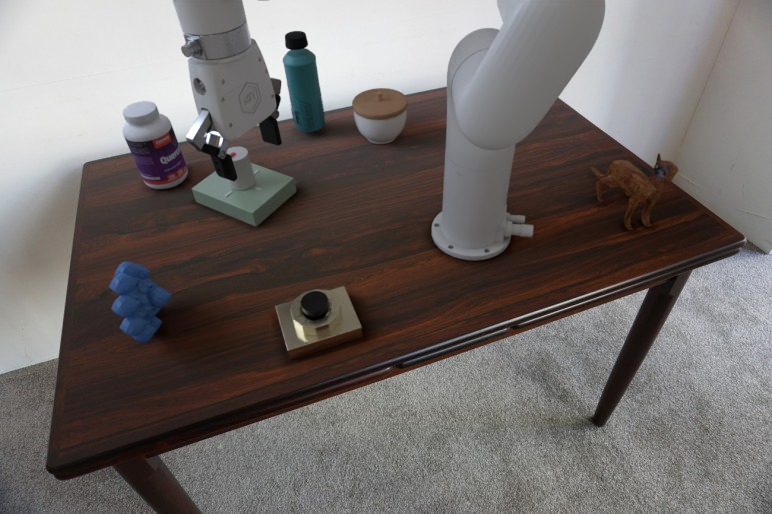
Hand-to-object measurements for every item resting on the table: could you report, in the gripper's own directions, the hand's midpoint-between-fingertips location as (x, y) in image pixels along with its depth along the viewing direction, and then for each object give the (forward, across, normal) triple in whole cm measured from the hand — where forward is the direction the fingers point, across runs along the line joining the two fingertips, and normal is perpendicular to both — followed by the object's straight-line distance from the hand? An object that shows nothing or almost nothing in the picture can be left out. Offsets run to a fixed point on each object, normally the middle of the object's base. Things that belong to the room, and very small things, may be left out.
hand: (251, 159), depth 74 cm
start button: (+12, -11, -17) cm, 24 cm away
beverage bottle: (+15, +30, +14) cm, 36 cm away
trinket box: (+16, +35, 0) cm, 38 cm away
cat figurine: (+16, +34, -47) cm, 60 cm away
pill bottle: (+15, +4, +28) cm, 32 cm away
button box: (+15, -11, -17) cm, 26 cm away
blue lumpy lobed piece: (+15, -22, +2) cm, 27 cm away
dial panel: (+15, +6, +11) cm, 20 cm away
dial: (+12, +7, +11) cm, 18 cm away
